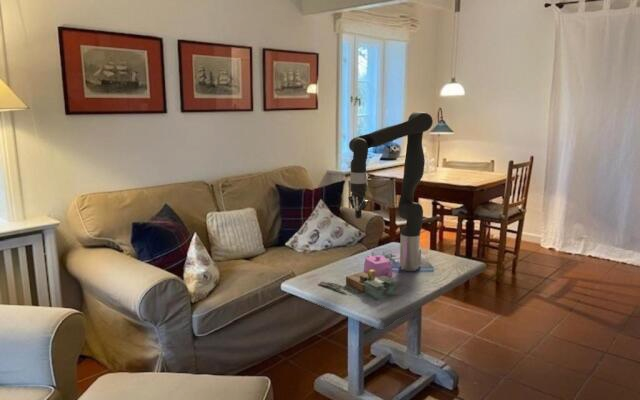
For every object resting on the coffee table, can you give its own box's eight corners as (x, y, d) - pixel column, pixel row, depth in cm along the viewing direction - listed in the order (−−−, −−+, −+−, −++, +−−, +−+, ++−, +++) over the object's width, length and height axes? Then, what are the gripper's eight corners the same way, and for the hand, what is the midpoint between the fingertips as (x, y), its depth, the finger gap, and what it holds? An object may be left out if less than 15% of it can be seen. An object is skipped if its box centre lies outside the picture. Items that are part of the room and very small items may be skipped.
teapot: (398, 281, 223) (398, 260, 220) (378, 285, 218) (378, 264, 216) (377, 269, 239) (378, 249, 236) (359, 272, 234) (359, 252, 232)
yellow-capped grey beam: (372, 279, 214) (372, 269, 213) (384, 285, 207) (385, 274, 206) (368, 280, 213) (368, 270, 212) (380, 286, 206) (380, 276, 205)
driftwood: (316, 285, 221) (316, 281, 220) (326, 281, 226) (326, 277, 225) (350, 299, 207) (350, 294, 206) (360, 294, 211) (360, 290, 211)
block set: (365, 279, 226) (365, 267, 224) (396, 294, 209) (396, 281, 207) (346, 284, 220) (346, 272, 218) (376, 300, 203) (376, 287, 201)
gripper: (374, 182, 221) (373, 219, 225) (355, 178, 232) (355, 214, 236) (361, 184, 217) (360, 222, 221) (343, 180, 228) (343, 216, 232)
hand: (358, 217), depth 229 cm, fingers closed
